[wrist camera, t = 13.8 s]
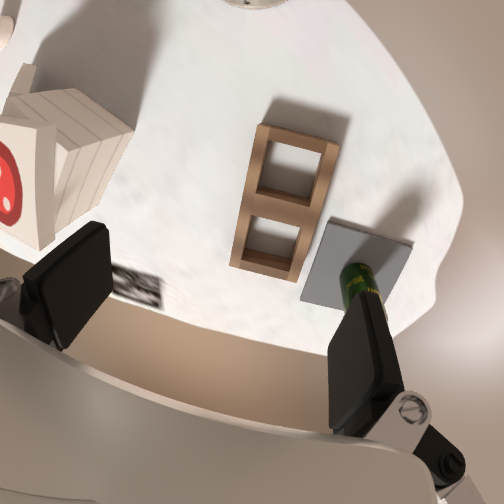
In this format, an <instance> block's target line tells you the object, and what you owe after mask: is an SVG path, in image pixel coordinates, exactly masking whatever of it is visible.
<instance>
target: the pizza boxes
mask: <svg viewBox="0 0 504 504" xmlns="http://www.w3.org/2000/svg"><path fill="white" fill-rule="evenodd" d="M37 67H38V66H36V65H31V64H26V63H23V65H22V67H21V69H20V71H19V73H18V75H17V77H16V79H15V81H14V83H13V86H12V88H11V90H10V92H9V96H8V98H7V99H6V102H5V105H4V109H3V113H2V115H0V229H1V230H3V231H4V232H6V233H8V234H9V235H11V236H13V237H15V238H16V239H18V240H20V241H22V242H23V243H25V244H27V245H29V246H30V247H32V248H34V249H36V250H38V251H41V250H42V249H44V248H45V247H46V246H47V245H49V244H50V243H51V242H53V241H54V240H55V234H56V233H57V232H59V231H60V230H62V229H63V228H64V227H66V226H67V225H69V224H70V223H71V222H73V221H74V220H76V219H77V218H79V217H80V216H82V215H83V214H85V213H86V212H88V211H89V210H91V209H92V208H94V207H95V206H97V205H98V204H99V203H100V200H101V198H102V196H103V194H104V191H105V189H106V187H107V185H108V183H109V181H110V179H111V176H112V174H113V172H114V170H115V168H116V166H117V164H118V162H119V160H120V158H121V156H122V154H123V153H124V151H125V149H126V147H127V145H128V143H129V141H130V140H131V138H132V136H133V134H134V132H135V131H134V130H133V129H132V128H130V127H129V126H128V125H126V124H125V123H123V122H122V121H121V120H119V119H118V118H117V117H115V116H114V115H112V114H111V113H110V112H108V111H107V110H106V109H104V108H103V107H101V106H100V105H99V104H97V103H96V102H94V101H93V100H92V99H90V98H89V97H87V96H86V95H85V94H83V93H82V92H80V91H79V90H78V89H76V88H70V89H60V90H51V91H43V92H36V93H30V94H29V91H30V88H31V85H32V81H33V78H34V75H35V72H36V69H37Z"/></svg>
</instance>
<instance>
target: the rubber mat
mask: <svg viewBox="0 0 504 504" xmlns="http://www.w3.org/2000/svg"><path fill="white" fill-rule="evenodd" d="M412 249H413V248H412V247H411V246H409V245H406V244H402V243H399V242H396V241H393V240H390V239H387V238H383V237H380V236H377V235H373V234H370V233H367V232H363V231H360V230H357V229H353V228H350V227H346V226H343V225H339V224H336V223H332V222H329V221H328V222H327V225H326V228H325V231H324V233H323V236H322V239H321V242H320V245H319V248H318V251H317V253H316V256H315V259H314V262H313V265H312V267H311V270H310V273H309V275H308V278H307V281H306V283H305V286H304V289H303V291H302V294H301V297H300V301H304V302H308V303H312V304H317V305H321V306H325V307H330V308H334V309H338V310H343V311H344V307H343V301H342V294H341V288H340V282H339V276H340V274H341V271H342V270H343V269H344V267H345V266H347V265H348V264H350V263H353V262H362V263H364V264H366V265H368V266H369V267H370V268H371V269H372V271H373V274H374V277H375V280H376V283H377V286H378V289H379V292H380V295H381V298H382V301H383V304H384V303H385V302H386V300H387V298H388V296H389V294H390V293H391V291H392V289H393V287H394V285H395V283H396V281H397V279H398V277H399V276H400V274H401V272H402V270H403V268H404V266H405V264H406V262H407V260H408V257H409V255H410V253H411V251H412Z"/></svg>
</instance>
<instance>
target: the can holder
mask: <svg viewBox="0 0 504 504" xmlns="http://www.w3.org/2000/svg"><path fill="white" fill-rule="evenodd" d="M269 140H271V141H275V142H280V143H284V144H288V145H292V146H296V147H299V148H303V149H307V150H311V151H314V152H318V153H321V157H320V161H319V164H318V168H317V172H316V175H315V179H314V182H313V186H312V189H311V193H310V196H309V198H305V197H302V196H298V195H294V194H290V193H286V192H283V191H279V190H275V189H271V188H267V187H262V186H259V183H260V179H261V174H262V170H263V165H264V161H265V156H266V152H267V148H268V143H269ZM339 148H340V146H339V145H338V144H337V143H336V142H333V141H329V140H326V139H322V138H319V137H315V136H312V135H308V134H304V133H301V132H297V131H293V130H289V129H285V128H280V127H276V126H272V125H267V124H263V123H260V124H258V125H257V129H256V134H255V139H254V143H253V148H252V153H251V158H250V162H249V167H248V172H247V177H246V182H245V187H244V192H243V196H242V201H241V206H240V211H239V216H238V222H237V227H236V232H235V237H234V242H233V247H232V252H231V258H230V263H229V266H232V267H236V268H239V269H243V270H247V271H251V272H255V273H259V274H263V275H267V276H271V277H275V278H279V279H283V280H287V281H291V282H295V283H297V280H298V277H299V274H300V272H301V269H302V266H303V263H304V260H305V257H306V254H307V251H308V248H309V245H310V242H311V239H312V236H313V233H314V230H315V227H316V224H317V221H318V218H319V215H320V212H321V208H322V205H323V202H324V199H325V196H326V192H327V189H328V186H329V183H330V179H331V176H332V172H333V169H334V166H335V162H336V159H337V155H338V152H339ZM252 215H254V216H258V217H262V218H266V219H270V220H274V221H278V222H282V223H285V224H289V225H293V226H297V227H300V230H299V233H298V236H297V239H296V243H295V246H294V249H293V252H292V255H291V259H287V258H283V257H279V256H275V255H271V254H267V253H263V252H259V251H255V250H251V249H247V248H245V247H246V242H247V238H248V233H249V228H250V224H251V219H252Z"/></svg>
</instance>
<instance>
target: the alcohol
mask: <svg viewBox="0 0 504 504" xmlns="http://www.w3.org/2000/svg"><path fill="white" fill-rule="evenodd" d="M13 29H14V21H13V19H12V18H11V17H10V16H0V51H1V50H2V49H4V48H5V47H6V45H7V44H8V42H9V40H10V38H11V36H12V33H13Z"/></svg>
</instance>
